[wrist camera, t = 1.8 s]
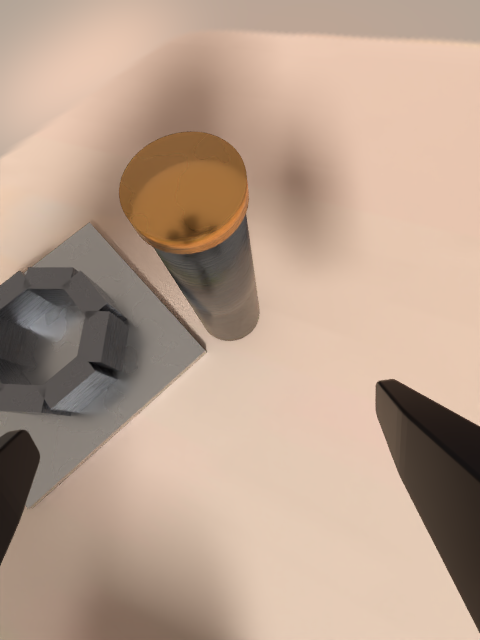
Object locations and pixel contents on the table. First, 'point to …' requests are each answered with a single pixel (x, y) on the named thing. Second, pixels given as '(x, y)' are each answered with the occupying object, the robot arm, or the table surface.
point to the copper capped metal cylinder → (197, 225)
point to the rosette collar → (82, 353)
